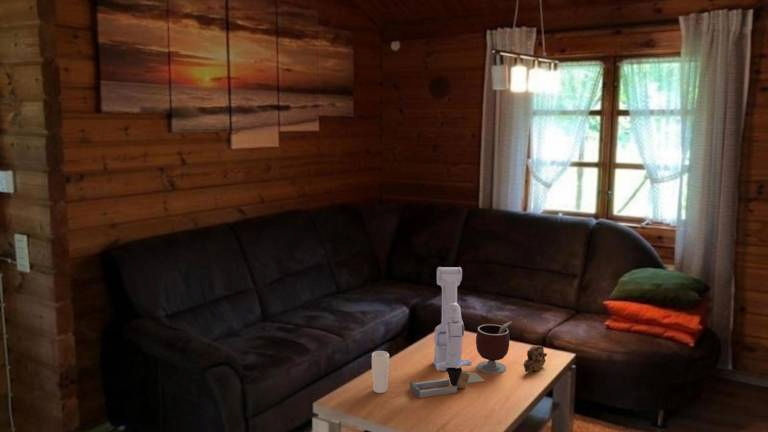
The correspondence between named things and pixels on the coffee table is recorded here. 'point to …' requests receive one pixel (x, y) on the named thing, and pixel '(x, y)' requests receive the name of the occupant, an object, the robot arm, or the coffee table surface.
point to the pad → (474, 378)
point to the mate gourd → (492, 347)
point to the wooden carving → (535, 358)
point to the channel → (419, 387)
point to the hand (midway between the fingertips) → (453, 384)
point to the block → (462, 379)
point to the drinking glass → (380, 371)
